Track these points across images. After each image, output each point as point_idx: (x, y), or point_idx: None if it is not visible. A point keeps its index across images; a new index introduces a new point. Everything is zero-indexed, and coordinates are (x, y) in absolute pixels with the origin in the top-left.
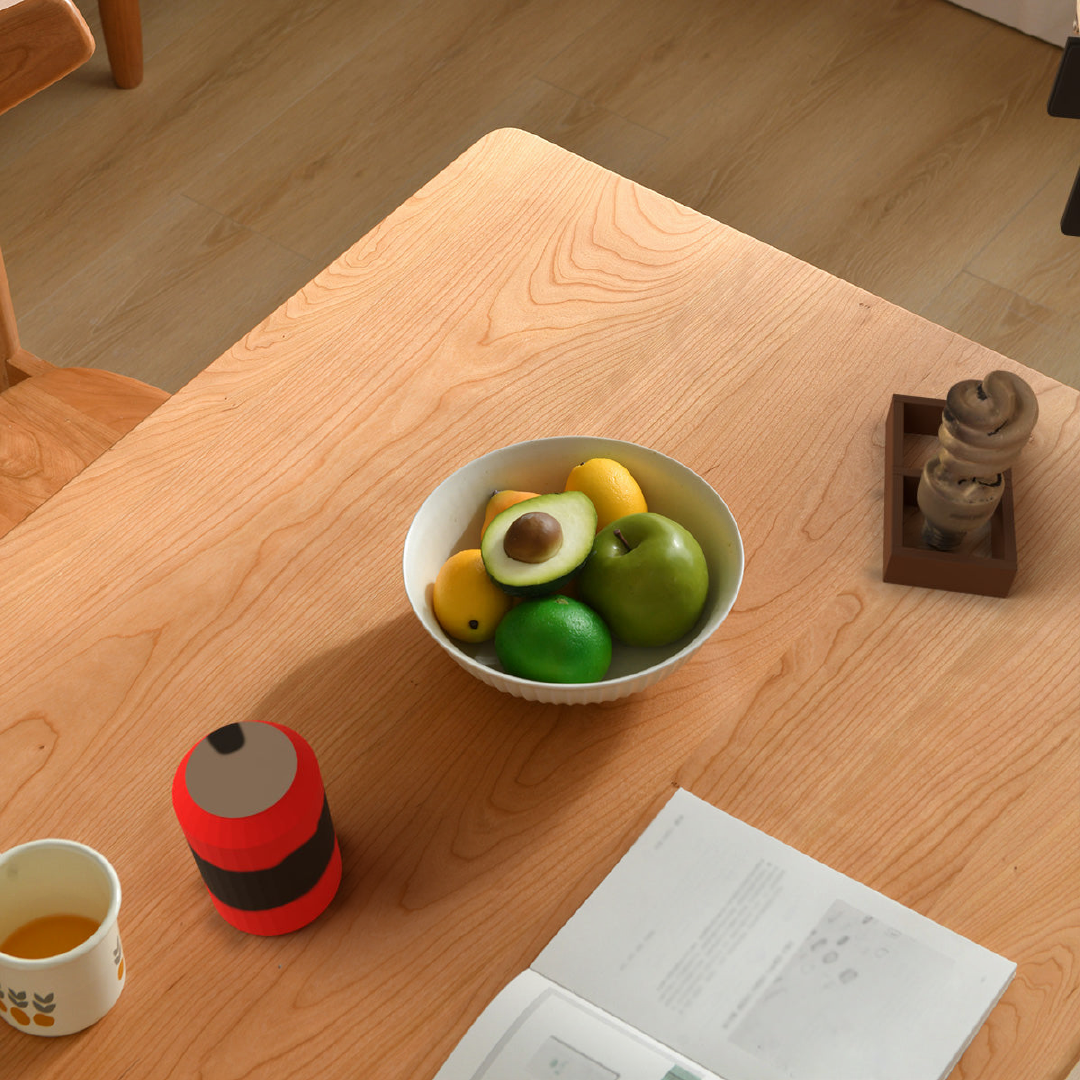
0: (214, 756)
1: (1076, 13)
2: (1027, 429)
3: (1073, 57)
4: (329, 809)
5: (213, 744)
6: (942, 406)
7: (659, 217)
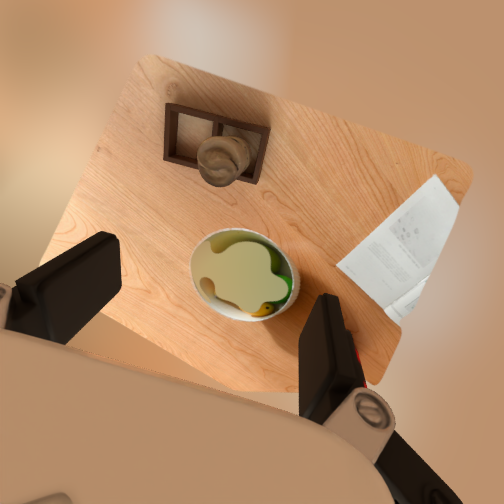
0: None
1: None
2: (235, 148)
3: (68, 334)
4: None
5: None
6: (169, 138)
7: (66, 226)
